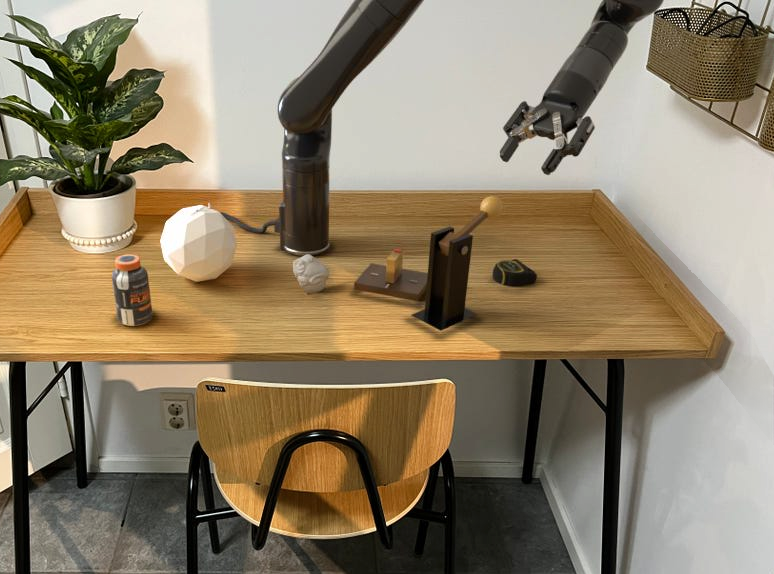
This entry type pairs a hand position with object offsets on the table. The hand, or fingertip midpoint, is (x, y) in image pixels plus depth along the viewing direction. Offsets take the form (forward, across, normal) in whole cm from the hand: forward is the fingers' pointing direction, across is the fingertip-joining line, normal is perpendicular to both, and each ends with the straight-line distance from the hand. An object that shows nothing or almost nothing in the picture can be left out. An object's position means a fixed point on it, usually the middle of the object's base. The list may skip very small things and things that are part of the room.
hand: (523, 165), depth 127 cm
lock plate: (+27, -14, +6) cm, 31 cm away
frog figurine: (+36, -22, -2) cm, 42 cm away
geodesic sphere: (+44, -41, -11) cm, 61 cm away
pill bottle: (+57, -34, -23) cm, 70 cm away
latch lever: (+14, 0, -1) cm, 14 cm away
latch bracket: (+28, 0, +5) cm, 29 cm away
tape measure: (+14, -2, +20) cm, 24 cm away
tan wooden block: (+25, -14, +4) cm, 29 cm away
